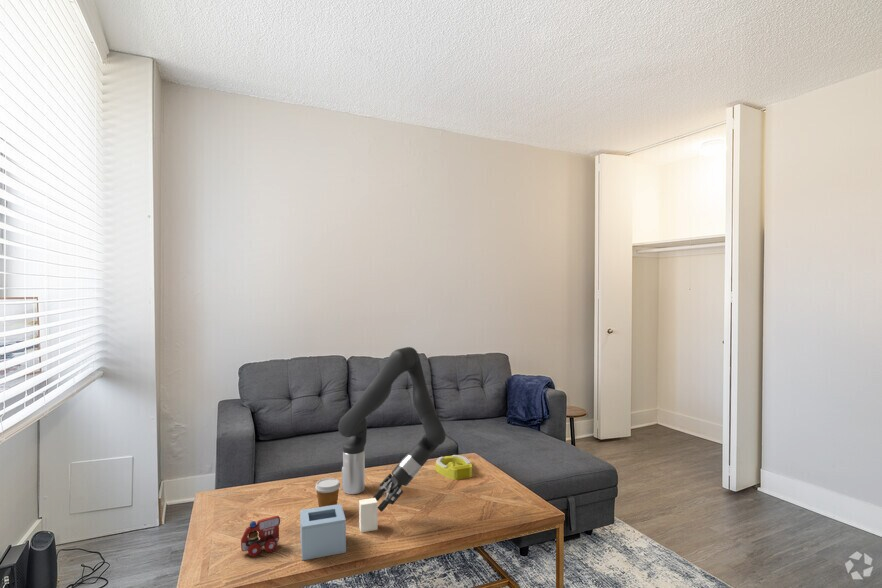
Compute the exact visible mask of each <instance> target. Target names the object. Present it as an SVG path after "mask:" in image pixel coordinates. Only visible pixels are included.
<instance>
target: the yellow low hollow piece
mask: <svg viewBox="0 0 882 588" xmlns="http://www.w3.org/2000/svg"><path fill="white" fill-rule="evenodd" d="M435 471H436V472H437V473H438V474H439V475H441V476H443V477H445V478H448V479H451V480H453V481H459V480H465V479H469V478H472V477H473V464H472V463H471V461H470V460H469V459H468V458H467V457H466V456H463V455H459V454H453V455H445V456H440V457H438V458H436V461H435Z"/></svg>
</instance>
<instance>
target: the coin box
mask: <svg viewBox="0 0 882 588" xmlns="http://www.w3.org/2000/svg"><path fill="white" fill-rule="evenodd" d="M299 517H300V519H299V520H300V526H299V528H300V530H299V532H300V551H301V552H300V553H301V560H302V561H307V560H312V559H316V558H317V559H318V558H322V557H328V556H334V555H338V554H339V555H340V554H344V553H346V552H347V536H346V535H347V524H346V523H347V521H346V520H347V519H346V516H345V512H344V509H343V506H342V503H339V504H338V503H337V505H330V506H324V507H319V506H317V507H312V508H305V509H300V514H299Z"/></svg>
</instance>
